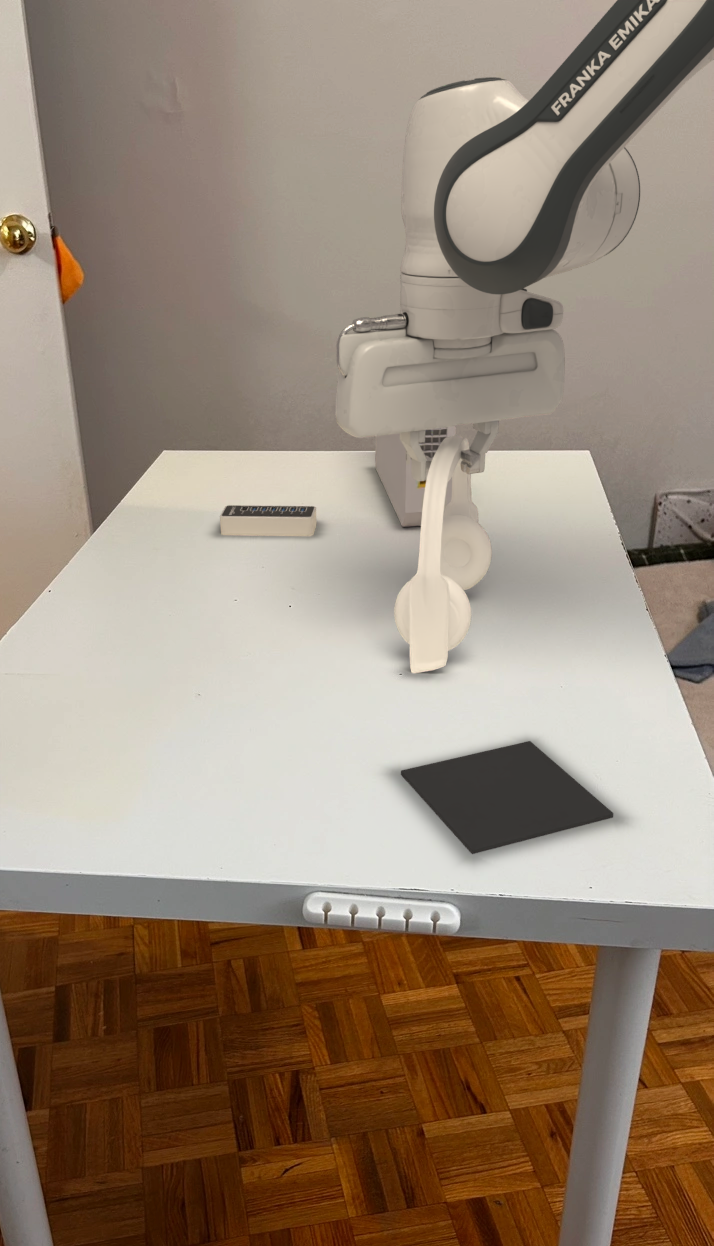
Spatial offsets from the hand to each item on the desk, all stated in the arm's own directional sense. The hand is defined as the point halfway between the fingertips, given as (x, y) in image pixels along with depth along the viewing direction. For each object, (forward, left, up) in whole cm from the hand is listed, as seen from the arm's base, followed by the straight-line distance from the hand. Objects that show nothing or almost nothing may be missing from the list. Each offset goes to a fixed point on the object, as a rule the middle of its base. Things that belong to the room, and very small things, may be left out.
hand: (448, 475), depth 97 cm
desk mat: (+9, +27, -15) cm, 32 cm away
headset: (0, 0, -15) cm, 15 cm away
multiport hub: (+5, -35, -15) cm, 39 cm away
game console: (-16, -39, -15) cm, 45 cm away
